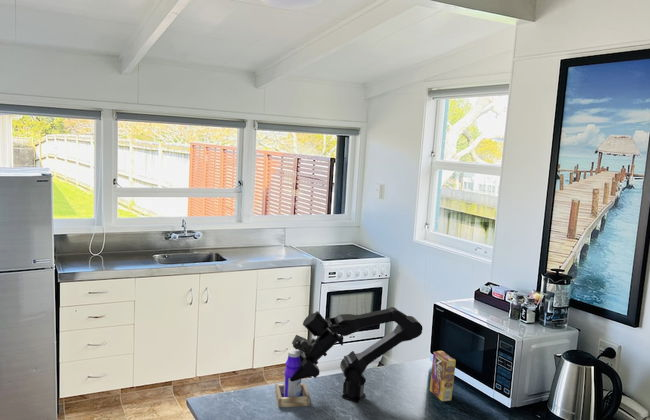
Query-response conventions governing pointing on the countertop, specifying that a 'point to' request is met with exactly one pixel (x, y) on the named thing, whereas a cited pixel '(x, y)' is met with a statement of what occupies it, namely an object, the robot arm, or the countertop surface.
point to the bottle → (291, 367)
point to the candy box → (442, 375)
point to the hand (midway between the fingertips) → (289, 375)
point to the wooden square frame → (292, 400)
